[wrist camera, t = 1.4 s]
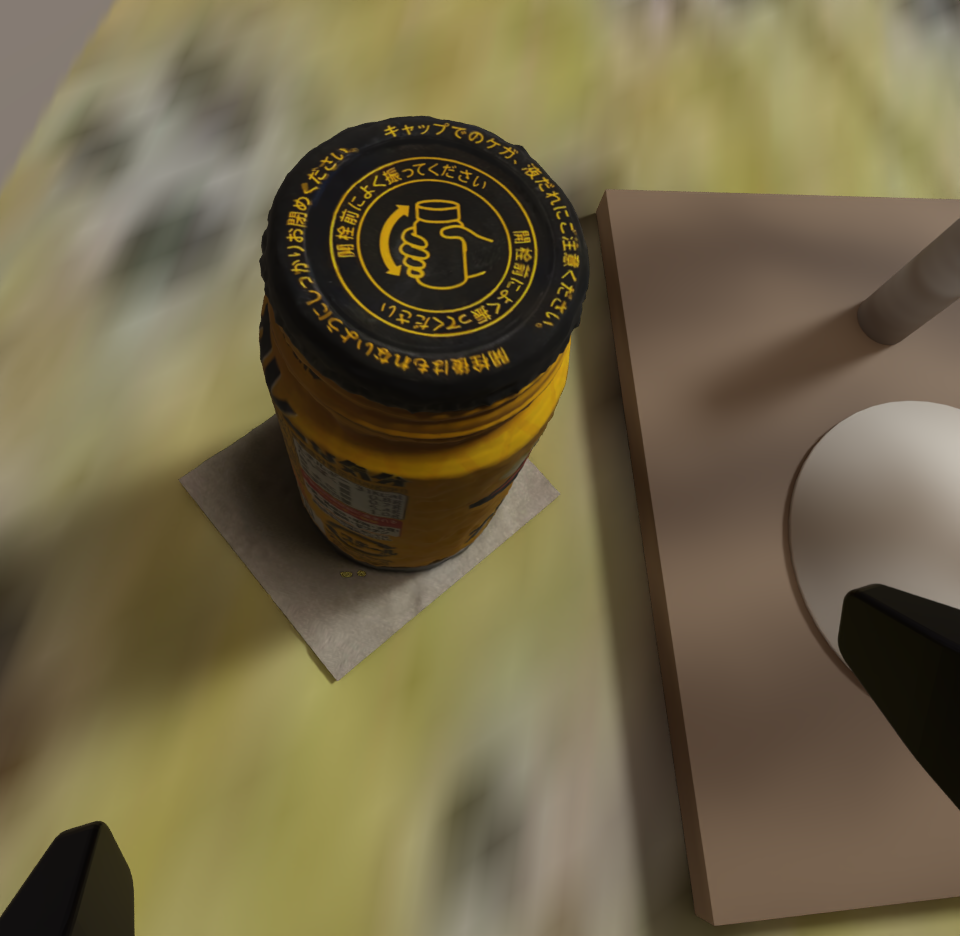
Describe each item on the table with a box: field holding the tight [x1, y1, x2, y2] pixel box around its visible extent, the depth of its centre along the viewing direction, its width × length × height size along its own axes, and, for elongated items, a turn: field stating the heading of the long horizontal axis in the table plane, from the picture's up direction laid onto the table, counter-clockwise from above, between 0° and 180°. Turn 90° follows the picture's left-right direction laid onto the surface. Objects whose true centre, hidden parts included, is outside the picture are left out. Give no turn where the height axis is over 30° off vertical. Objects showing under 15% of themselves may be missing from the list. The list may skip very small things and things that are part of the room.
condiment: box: [179, 116, 589, 681], centre depth 17 cm, size 7×8×12 cm
